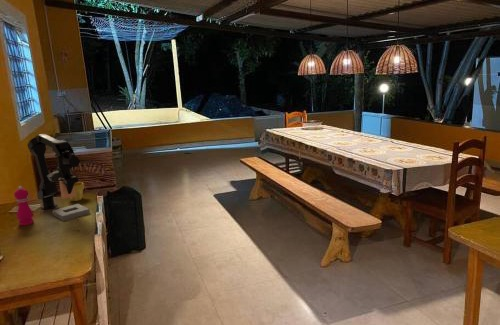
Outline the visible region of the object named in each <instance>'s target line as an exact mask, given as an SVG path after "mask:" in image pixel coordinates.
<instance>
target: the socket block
mask: <svg viewBox="0 0 500 325" xmlns="http://www.w3.org/2000/svg"><path fill="white" fill-rule="evenodd" d="M51 210H52V211H51V212H52V215H53V216H55V217H56V218H57V219H59V220H61V221H63V222H64V221H67V220H71V219H74V218H78V217H82V216H85V215H88V214H90V208H88V207H86V206H84V205H81V204H80V203H75V204H71V205H69V206H63V207H61V208H58V209H57V208H56V209H51Z"/></svg>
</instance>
